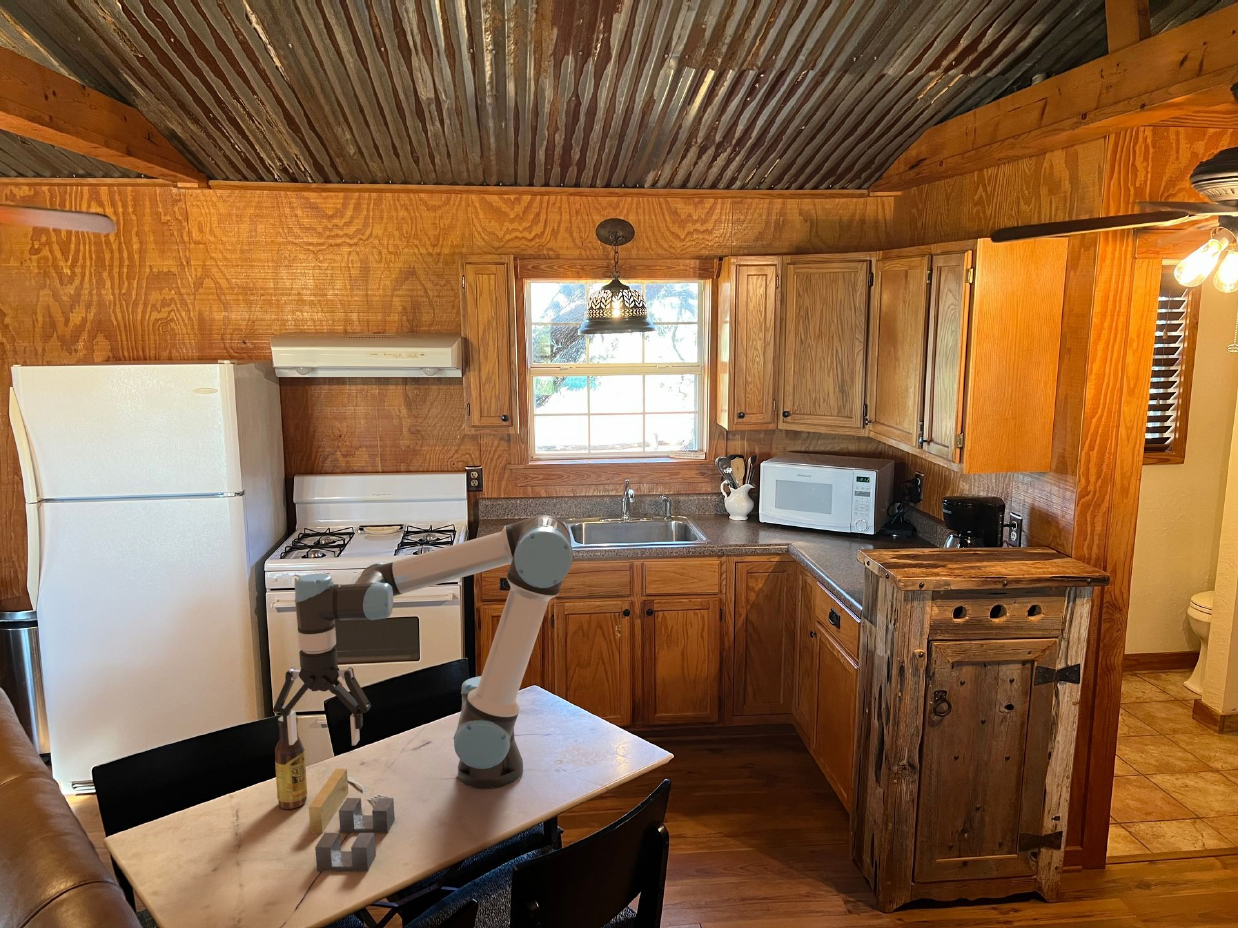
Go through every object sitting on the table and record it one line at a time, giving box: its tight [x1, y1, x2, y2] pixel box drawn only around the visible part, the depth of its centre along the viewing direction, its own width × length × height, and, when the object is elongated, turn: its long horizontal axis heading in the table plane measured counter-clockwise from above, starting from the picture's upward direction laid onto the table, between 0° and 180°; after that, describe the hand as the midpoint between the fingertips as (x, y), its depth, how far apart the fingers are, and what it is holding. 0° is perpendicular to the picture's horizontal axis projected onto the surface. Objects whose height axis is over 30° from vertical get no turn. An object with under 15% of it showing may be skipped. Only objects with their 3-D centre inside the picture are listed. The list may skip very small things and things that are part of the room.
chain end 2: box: [314, 832, 377, 872], centre depth 174 cm, size 10×5×5 cm, turn 88°
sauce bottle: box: [274, 715, 308, 810], centre depth 195 cm, size 7×6×20 cm
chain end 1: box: [338, 797, 396, 834], centre depth 186 cm, size 10×5×5 cm, turn 88°
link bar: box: [308, 768, 349, 834], centre depth 192 cm, size 2×16×6 cm, turn 178°
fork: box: [347, 775, 389, 802], centre depth 204 cm, size 3×24×2 cm, turn 45°
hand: (324, 742), depth 190 cm, fingers open, 13 cm apart
